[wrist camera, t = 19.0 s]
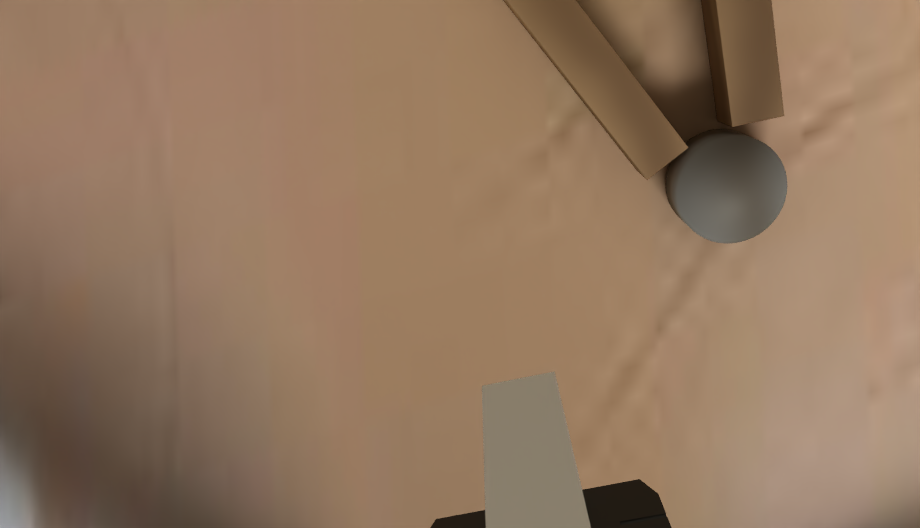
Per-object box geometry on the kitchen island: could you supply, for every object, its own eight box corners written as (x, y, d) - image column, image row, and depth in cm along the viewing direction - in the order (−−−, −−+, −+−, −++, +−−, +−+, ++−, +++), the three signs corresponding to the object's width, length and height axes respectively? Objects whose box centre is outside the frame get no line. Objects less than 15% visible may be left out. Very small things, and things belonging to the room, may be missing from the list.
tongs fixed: (673, 240, 43) (685, 253, 41) (610, -170, 38) (619, -183, 35) (778, 218, 43) (797, 230, 40) (729, -199, 37) (747, -214, 35)
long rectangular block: (637, 170, 42) (647, 179, 40) (458, -57, 39) (458, -61, 37) (676, 140, 42) (688, 147, 39) (498, -92, 39) (500, -99, 36)
